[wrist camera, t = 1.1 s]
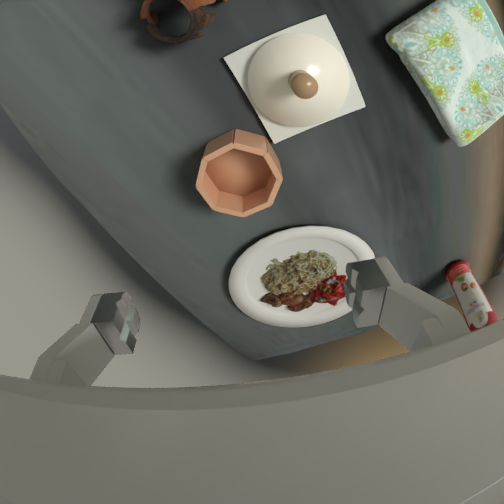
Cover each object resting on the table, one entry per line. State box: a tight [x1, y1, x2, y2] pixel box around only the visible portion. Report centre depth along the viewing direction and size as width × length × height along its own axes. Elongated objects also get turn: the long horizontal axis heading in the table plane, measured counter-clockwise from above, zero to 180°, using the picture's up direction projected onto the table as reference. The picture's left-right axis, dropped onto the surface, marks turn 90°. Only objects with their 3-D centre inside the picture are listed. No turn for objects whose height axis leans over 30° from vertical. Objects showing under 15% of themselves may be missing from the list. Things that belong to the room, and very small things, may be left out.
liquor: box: [446, 261, 500, 332], centre depth 48 cm, size 7×7×28 cm
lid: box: [248, 33, 350, 127], centre depth 32 cm, size 13×13×5 cm
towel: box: [385, 0, 504, 147], centre depth 27 cm, size 18×21×5 cm
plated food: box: [229, 225, 375, 327], centre depth 59 cm, size 30×30×3 cm
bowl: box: [196, 129, 283, 217], centre depth 41 cm, size 11×11×5 cm
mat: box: [224, 15, 366, 144], centre depth 33 cm, size 14×14×1 cm
